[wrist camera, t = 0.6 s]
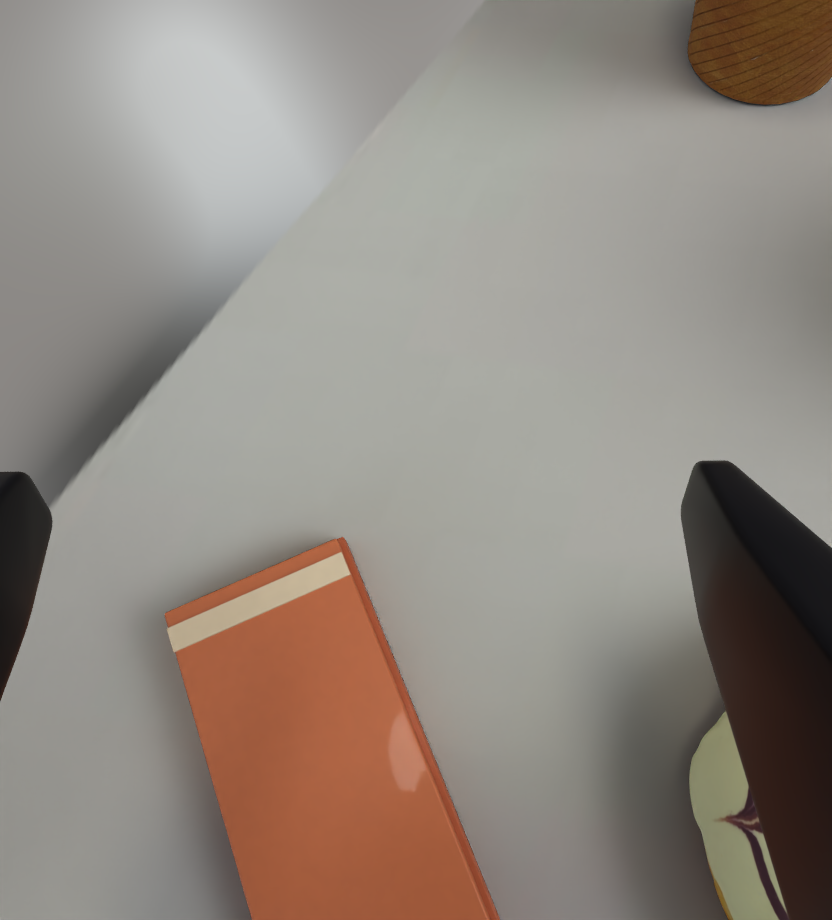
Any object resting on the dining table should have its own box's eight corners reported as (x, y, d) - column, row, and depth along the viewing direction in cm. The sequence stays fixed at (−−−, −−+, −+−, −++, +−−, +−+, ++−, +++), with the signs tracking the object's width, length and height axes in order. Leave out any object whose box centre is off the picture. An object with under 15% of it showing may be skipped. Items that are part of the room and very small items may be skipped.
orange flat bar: (530, 994, 19) (534, 1012, 18) (313, 1103, 19) (301, 1129, 18) (346, 541, 25) (339, 530, 23) (172, 618, 24) (154, 610, 23)
